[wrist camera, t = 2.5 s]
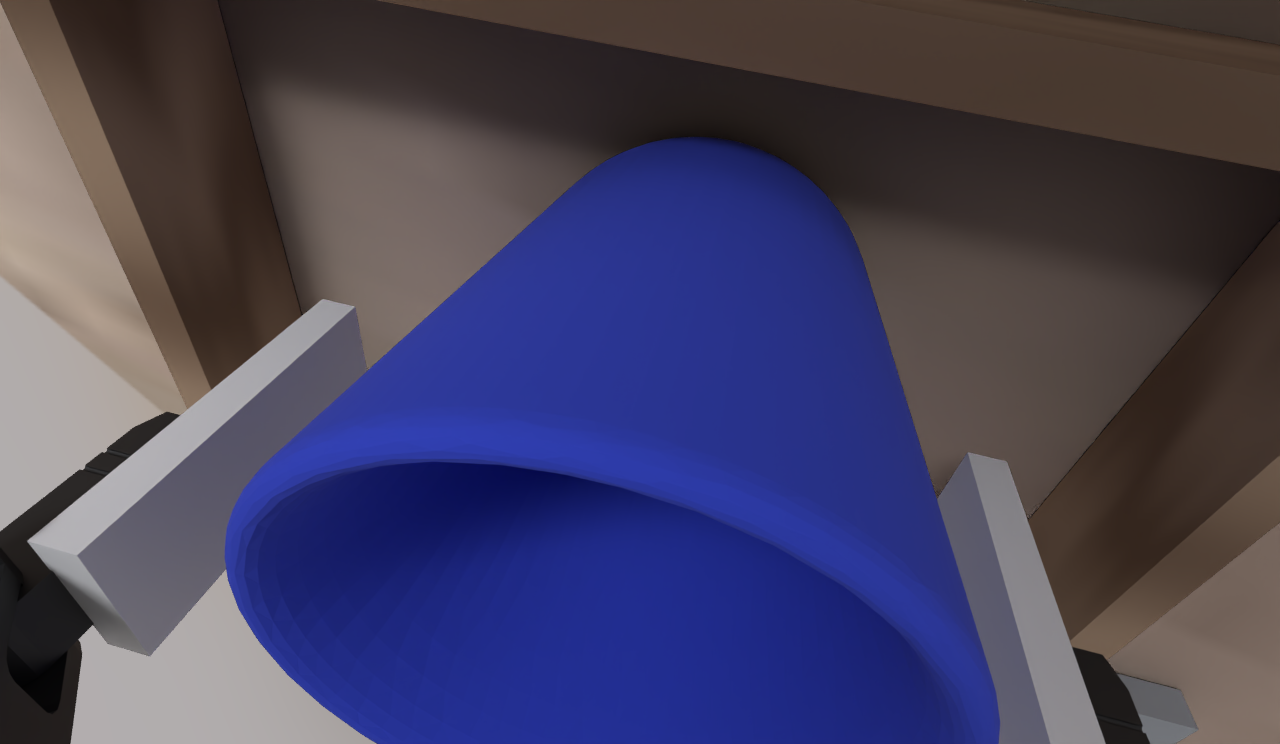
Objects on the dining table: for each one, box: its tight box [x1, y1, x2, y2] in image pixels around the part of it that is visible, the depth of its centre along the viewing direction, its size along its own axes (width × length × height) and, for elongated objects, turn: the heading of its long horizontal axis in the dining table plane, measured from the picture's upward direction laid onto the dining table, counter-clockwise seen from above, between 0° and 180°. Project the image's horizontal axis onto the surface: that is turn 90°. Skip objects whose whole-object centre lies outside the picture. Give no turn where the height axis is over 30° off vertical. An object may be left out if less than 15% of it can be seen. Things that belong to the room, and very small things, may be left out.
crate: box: [0, 0, 1280, 660], centre depth 14 cm, size 16×23×4 cm
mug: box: [225, 137, 1000, 744], centre depth 12 cm, size 8×12×10 cm
